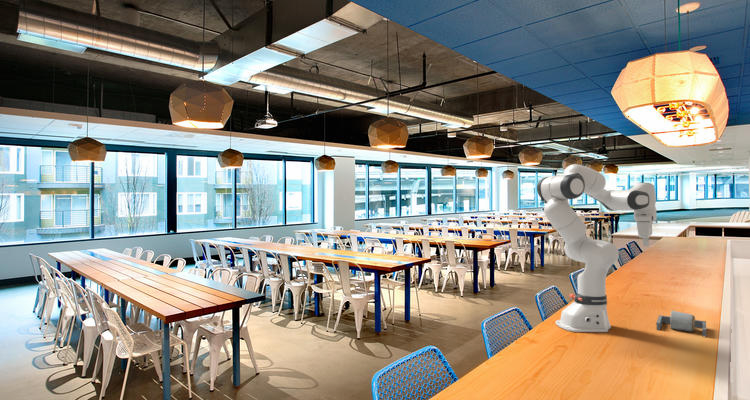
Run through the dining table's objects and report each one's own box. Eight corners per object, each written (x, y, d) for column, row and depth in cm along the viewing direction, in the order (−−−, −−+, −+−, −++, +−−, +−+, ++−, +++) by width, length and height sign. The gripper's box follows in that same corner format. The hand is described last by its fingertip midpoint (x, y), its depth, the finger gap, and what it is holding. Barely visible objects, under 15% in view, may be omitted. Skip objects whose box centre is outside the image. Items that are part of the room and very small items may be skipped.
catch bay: (706, 337, 159) (706, 329, 159) (656, 329, 169) (656, 322, 169) (706, 328, 169) (706, 321, 169) (659, 321, 180) (659, 315, 180)
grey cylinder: (694, 334, 162) (694, 315, 163) (670, 330, 168) (669, 312, 168) (696, 328, 170) (695, 310, 170) (672, 324, 176) (672, 307, 176)
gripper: (639, 215, 196) (640, 243, 196) (634, 217, 180) (635, 247, 180) (655, 215, 192) (656, 244, 192) (651, 217, 176) (652, 248, 176)
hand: (646, 245), depth 186 cm, fingers closed
